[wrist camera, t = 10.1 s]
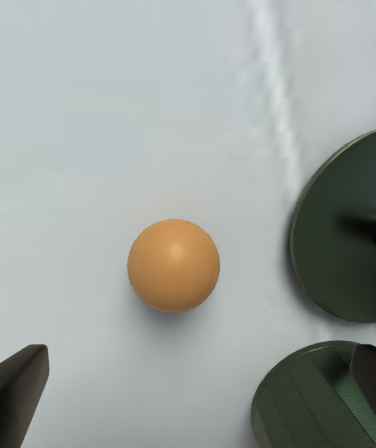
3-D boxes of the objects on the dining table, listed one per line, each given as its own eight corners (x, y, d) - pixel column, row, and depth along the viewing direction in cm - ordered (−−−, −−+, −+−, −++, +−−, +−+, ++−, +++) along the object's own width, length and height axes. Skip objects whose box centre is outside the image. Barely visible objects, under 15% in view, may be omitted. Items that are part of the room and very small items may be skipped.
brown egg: (133, 283, 16) (119, 334, 11) (134, 209, 15) (118, 230, 10) (207, 285, 17) (224, 334, 12) (214, 213, 15) (235, 235, 11)
